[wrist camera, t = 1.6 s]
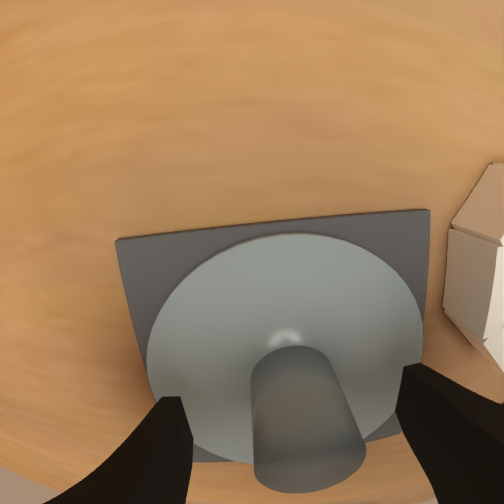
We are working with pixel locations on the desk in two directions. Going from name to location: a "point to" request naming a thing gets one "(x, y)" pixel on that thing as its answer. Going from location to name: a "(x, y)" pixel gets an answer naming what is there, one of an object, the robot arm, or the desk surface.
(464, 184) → the desk surface
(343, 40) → the desk surface
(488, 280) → the bowl
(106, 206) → the desk surface
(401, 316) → the lid
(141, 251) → the mat
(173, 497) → the robot arm
